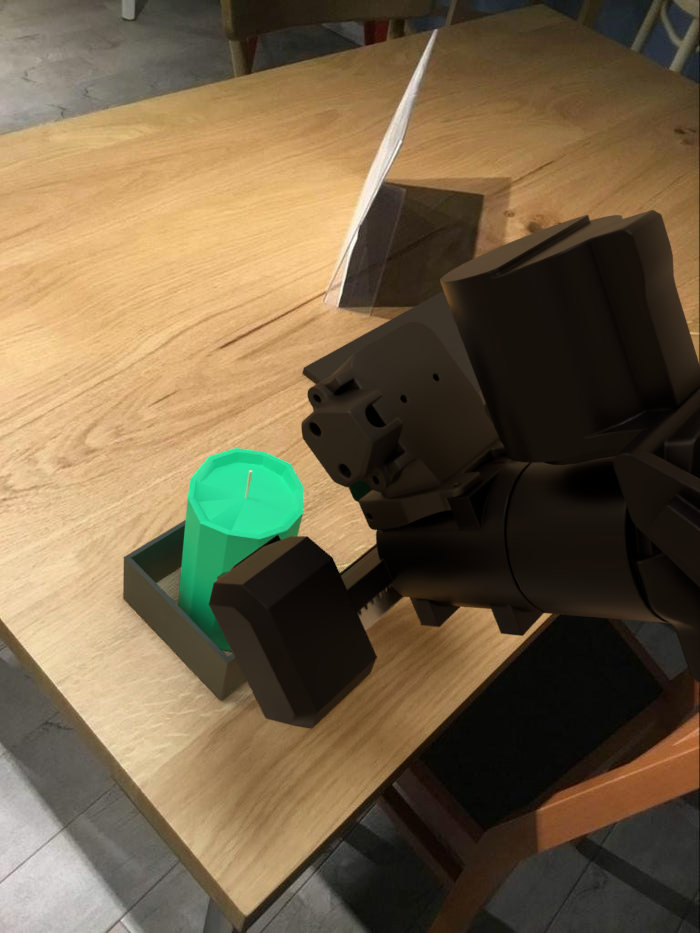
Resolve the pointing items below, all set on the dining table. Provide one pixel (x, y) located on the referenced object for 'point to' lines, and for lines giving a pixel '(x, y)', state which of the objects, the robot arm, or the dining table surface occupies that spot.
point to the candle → (233, 523)
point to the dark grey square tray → (176, 612)
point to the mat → (427, 312)
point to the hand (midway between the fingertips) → (292, 534)
